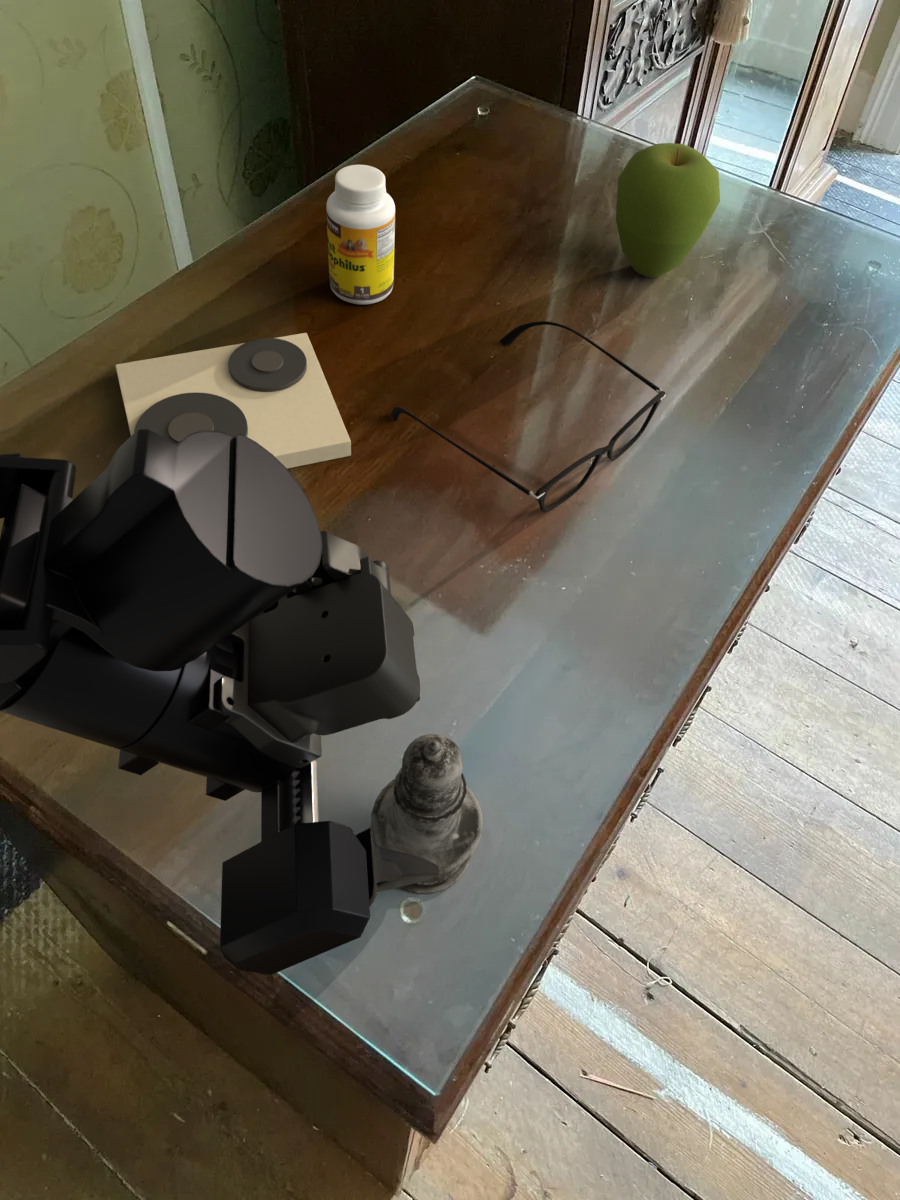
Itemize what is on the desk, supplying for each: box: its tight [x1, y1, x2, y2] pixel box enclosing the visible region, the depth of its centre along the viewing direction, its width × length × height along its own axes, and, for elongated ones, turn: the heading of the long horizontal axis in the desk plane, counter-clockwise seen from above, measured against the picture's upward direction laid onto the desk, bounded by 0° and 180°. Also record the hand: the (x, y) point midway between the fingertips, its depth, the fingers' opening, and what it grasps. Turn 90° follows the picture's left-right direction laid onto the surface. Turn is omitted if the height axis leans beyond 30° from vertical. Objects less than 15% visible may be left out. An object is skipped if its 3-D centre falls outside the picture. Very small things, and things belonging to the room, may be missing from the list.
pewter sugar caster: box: [370, 733, 484, 895], centre depth 48 cm, size 6×6×12 cm
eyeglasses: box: [390, 320, 667, 513], centre depth 72 cm, size 16×16×4 cm
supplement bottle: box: [325, 164, 396, 306], centre depth 79 cm, size 6×6×10 cm
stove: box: [114, 332, 352, 469], centre depth 72 cm, size 15×13×2 cm
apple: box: [615, 142, 721, 279], centre depth 83 cm, size 9×8×12 cm
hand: (422, 782), depth 46 cm, fingers open, 9 cm apart
